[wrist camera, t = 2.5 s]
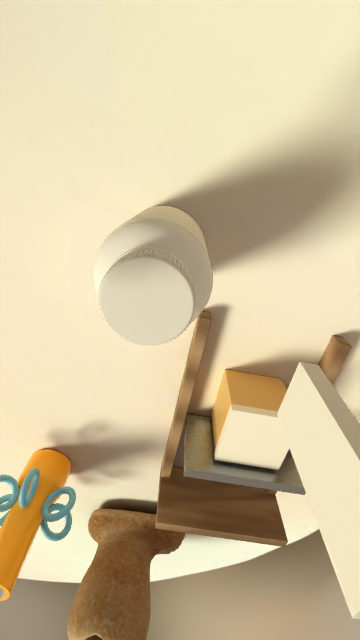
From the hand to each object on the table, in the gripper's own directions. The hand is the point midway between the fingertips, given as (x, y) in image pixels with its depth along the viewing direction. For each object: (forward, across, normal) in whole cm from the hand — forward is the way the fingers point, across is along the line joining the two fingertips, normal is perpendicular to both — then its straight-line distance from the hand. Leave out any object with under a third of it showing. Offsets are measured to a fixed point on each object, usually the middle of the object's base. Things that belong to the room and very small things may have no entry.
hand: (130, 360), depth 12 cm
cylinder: (+20, -11, -34) cm, 41 cm away
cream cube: (+20, +13, -16) cm, 29 cm away
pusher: (+20, +13, -21) cm, 31 cm away
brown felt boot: (+20, +3, -46) cm, 50 cm away
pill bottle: (+20, 0, 0) cm, 20 cm away
